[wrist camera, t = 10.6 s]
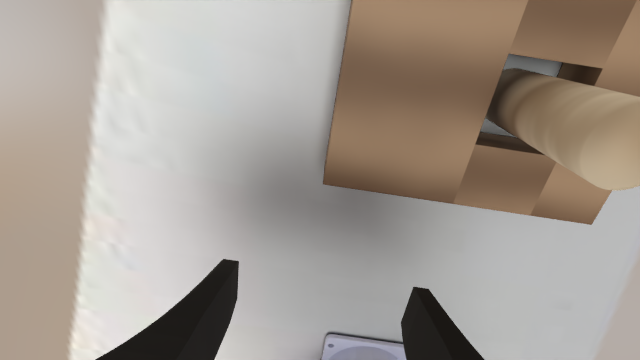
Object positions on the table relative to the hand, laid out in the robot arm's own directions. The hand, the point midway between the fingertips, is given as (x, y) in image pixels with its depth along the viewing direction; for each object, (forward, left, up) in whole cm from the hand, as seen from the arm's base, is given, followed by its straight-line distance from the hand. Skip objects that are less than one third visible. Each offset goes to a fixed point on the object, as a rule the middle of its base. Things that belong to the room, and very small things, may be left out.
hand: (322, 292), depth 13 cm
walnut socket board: (+8, -8, -10) cm, 15 cm away
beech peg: (+8, -10, -10) cm, 16 cm away
